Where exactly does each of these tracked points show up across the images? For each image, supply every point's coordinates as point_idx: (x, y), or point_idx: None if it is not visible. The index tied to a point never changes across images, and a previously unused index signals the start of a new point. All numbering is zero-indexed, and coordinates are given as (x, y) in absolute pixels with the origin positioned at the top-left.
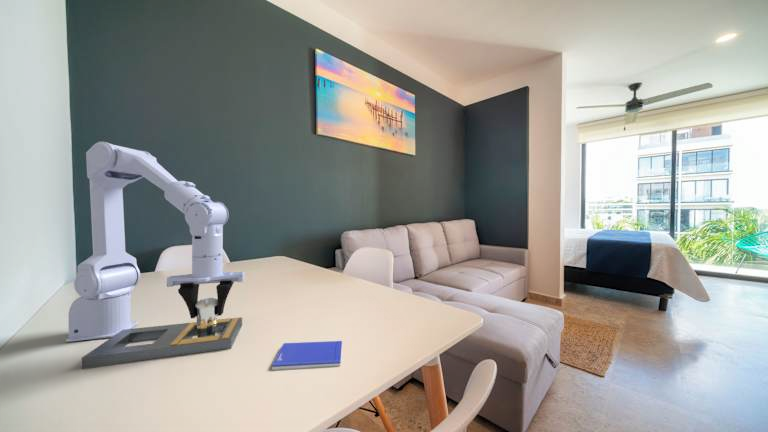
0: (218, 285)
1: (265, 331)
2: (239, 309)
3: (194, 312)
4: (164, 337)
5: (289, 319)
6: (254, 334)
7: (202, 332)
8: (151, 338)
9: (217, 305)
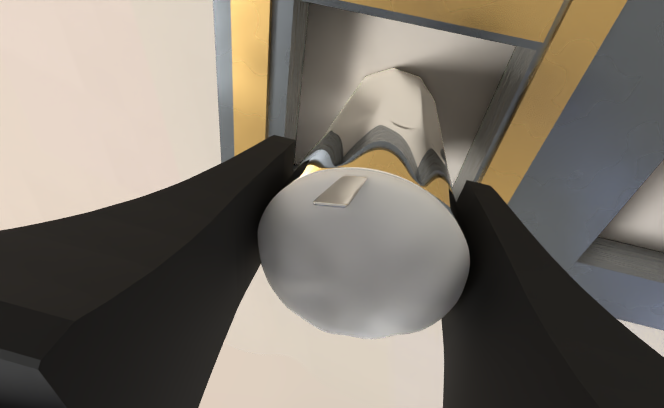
0: (44, 399)
1: (102, 57)
2: (281, 338)
3: (470, 213)
4: (628, 155)
5: (35, 148)
6: (150, 45)
7: (409, 94)
8: (639, 251)
9: (271, 203)
